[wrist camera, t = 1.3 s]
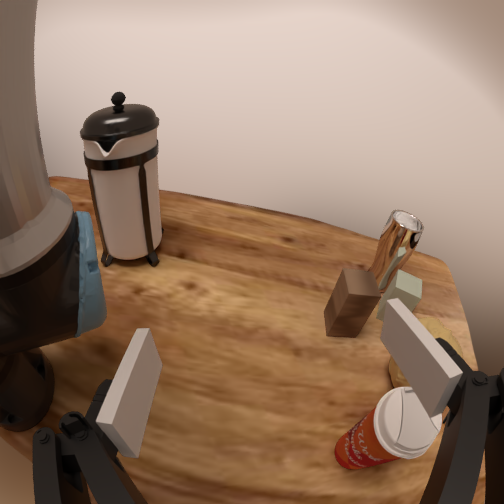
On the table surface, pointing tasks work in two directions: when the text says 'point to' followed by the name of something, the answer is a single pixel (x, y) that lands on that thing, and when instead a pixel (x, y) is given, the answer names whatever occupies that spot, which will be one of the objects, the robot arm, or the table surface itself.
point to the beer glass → (395, 246)
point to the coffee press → (124, 179)
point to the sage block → (401, 292)
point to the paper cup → (389, 432)
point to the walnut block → (351, 303)
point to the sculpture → (436, 331)
